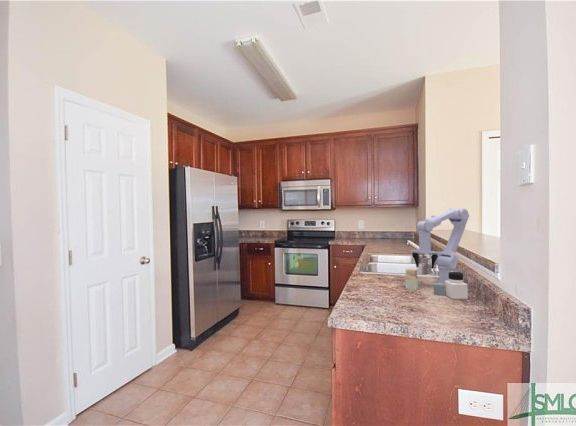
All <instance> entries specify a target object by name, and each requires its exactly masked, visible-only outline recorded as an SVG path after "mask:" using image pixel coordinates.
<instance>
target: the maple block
mask: <svg viewBox="0 0 576 426" xmlns="http://www.w3.org/2000/svg"><path fill="white" fill-rule="evenodd" d="M405 279H407V280H414V281H415V280H417V279H418V269H415V268H414V269H413V268H407V269H406V270H405Z"/></svg>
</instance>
